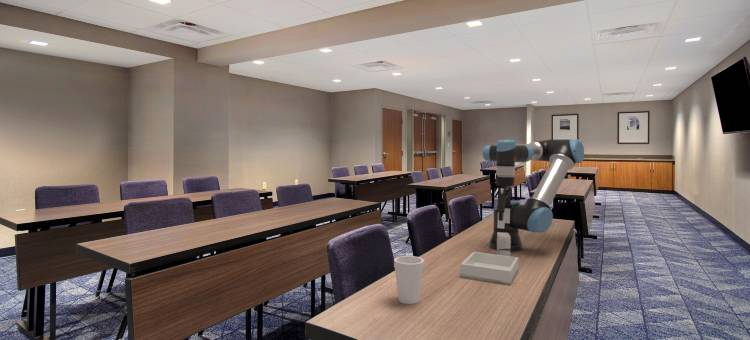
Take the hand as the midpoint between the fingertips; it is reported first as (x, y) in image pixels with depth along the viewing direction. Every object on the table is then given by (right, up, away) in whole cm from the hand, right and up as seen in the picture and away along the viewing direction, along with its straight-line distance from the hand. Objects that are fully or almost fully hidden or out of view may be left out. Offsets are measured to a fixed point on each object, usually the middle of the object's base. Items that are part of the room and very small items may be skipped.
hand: (503, 225), depth 168 cm
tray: (-10, -16, -16) cm, 25 cm away
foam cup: (-45, -18, -43) cm, 65 cm away
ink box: (0, -16, +1) cm, 16 cm away
